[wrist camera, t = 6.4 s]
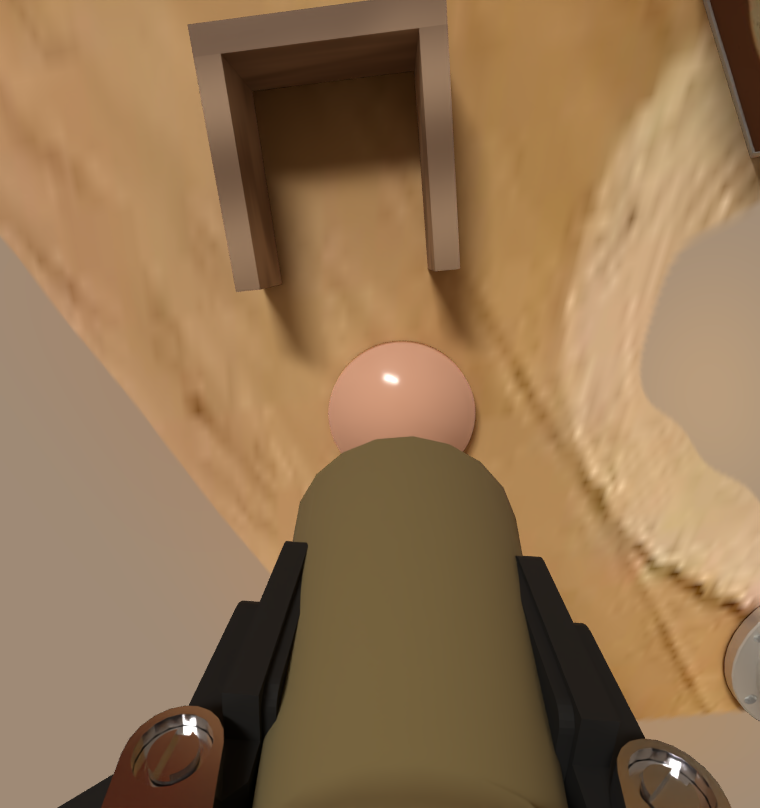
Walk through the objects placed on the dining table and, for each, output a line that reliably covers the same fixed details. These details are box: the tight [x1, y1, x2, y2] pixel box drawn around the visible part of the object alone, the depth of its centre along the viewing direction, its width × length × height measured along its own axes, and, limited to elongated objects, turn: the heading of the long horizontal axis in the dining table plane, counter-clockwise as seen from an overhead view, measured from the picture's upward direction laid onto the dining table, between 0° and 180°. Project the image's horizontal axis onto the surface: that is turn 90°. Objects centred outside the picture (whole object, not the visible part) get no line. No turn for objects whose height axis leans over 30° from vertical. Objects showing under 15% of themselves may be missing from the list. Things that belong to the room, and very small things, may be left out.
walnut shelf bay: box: [188, 0, 460, 292], centre depth 24 cm, size 11×11×5 cm
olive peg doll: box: [252, 436, 568, 808], centre depth 8 cm, size 6×6×11 cm
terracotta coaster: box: [328, 341, 475, 453], centre depth 30 cm, size 9×9×1 cm
